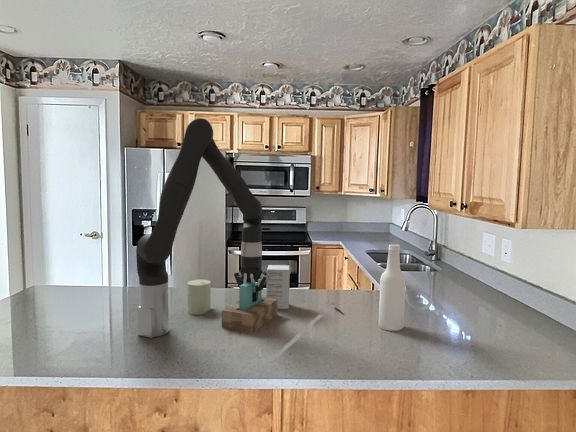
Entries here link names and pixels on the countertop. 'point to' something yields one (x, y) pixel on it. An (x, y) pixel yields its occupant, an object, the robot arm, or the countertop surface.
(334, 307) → the fork
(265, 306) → the slot box
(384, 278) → the alcohol
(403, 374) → the countertop surface
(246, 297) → the cover plate
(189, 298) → the can
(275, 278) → the supplement box
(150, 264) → the robot arm
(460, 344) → the countertop surface
